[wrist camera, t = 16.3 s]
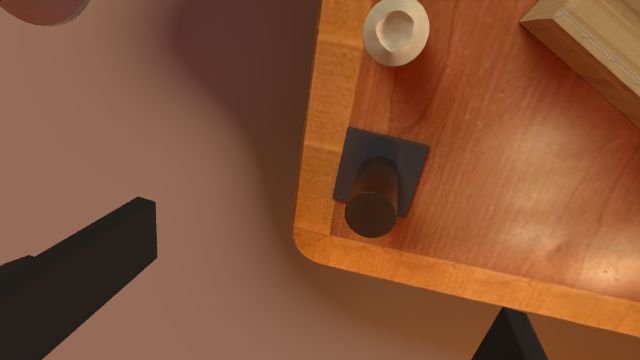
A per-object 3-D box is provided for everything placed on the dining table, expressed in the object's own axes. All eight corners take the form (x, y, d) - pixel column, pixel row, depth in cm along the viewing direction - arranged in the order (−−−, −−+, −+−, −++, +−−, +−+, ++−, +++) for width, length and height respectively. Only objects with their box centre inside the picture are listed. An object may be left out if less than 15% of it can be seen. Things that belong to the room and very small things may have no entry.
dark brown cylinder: (354, 187, 42) (339, 230, 32) (363, 151, 40) (350, 186, 30) (391, 197, 41) (389, 244, 31) (402, 161, 39) (403, 200, 29)
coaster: (333, 196, 44) (332, 198, 43) (348, 126, 40) (347, 127, 39) (405, 216, 43) (405, 218, 42) (429, 145, 38) (429, 146, 38)
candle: (413, 67, 36) (417, 74, 27) (365, 56, 36) (353, 59, 27) (430, 13, 33) (441, 0, 24) (378, 2, 34) (370, -15, 25)
